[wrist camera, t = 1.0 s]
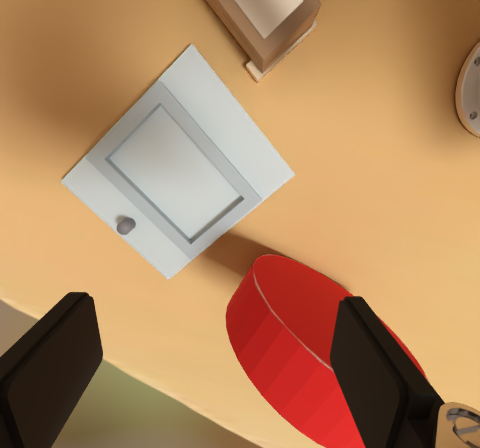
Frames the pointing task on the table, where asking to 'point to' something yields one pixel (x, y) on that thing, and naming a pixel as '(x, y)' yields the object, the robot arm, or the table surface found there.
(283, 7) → the frame
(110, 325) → the table surface
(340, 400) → the toy clock
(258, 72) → the prop batten
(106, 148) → the white cabinet door
